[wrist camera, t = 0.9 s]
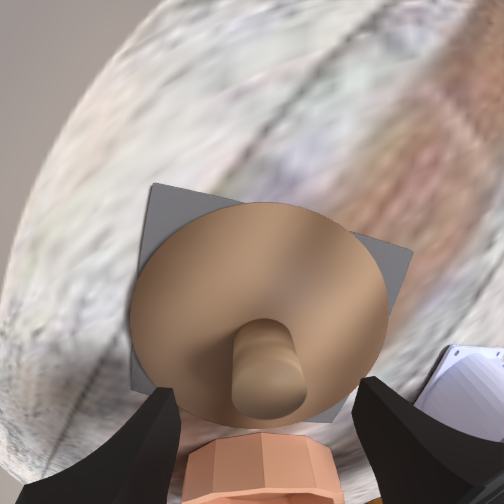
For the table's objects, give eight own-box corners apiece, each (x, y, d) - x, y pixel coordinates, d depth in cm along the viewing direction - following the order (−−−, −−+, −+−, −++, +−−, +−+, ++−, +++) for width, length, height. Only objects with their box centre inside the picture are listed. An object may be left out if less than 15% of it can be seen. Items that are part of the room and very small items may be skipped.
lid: (415, 243, 14) (471, 269, 9) (329, 426, 17) (345, 477, 13) (155, 172, 12) (112, 171, 8) (131, 394, 16) (109, 446, 11)
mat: (410, 249, 14) (413, 251, 14) (330, 419, 17) (332, 422, 17) (155, 182, 13) (152, 183, 13) (133, 386, 16) (131, 389, 16)
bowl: (356, 435, 18) (374, 481, 13) (301, 499, 21) (307, 534, 16) (195, 422, 17) (187, 478, 12) (181, 489, 20) (176, 527, 15)
